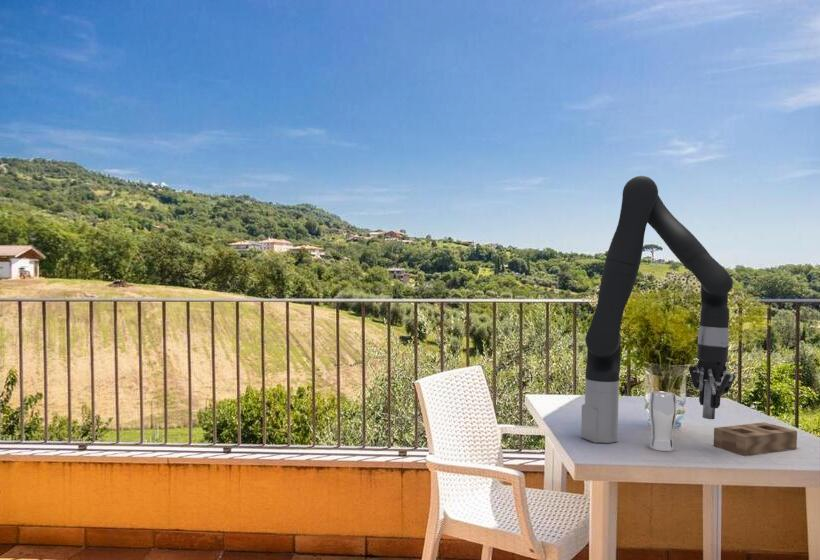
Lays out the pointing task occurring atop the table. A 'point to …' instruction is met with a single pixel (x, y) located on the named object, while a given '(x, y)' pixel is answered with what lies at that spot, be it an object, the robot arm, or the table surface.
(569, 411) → the table surface
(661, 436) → the beer glass
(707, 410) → the peg
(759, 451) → the hole block
